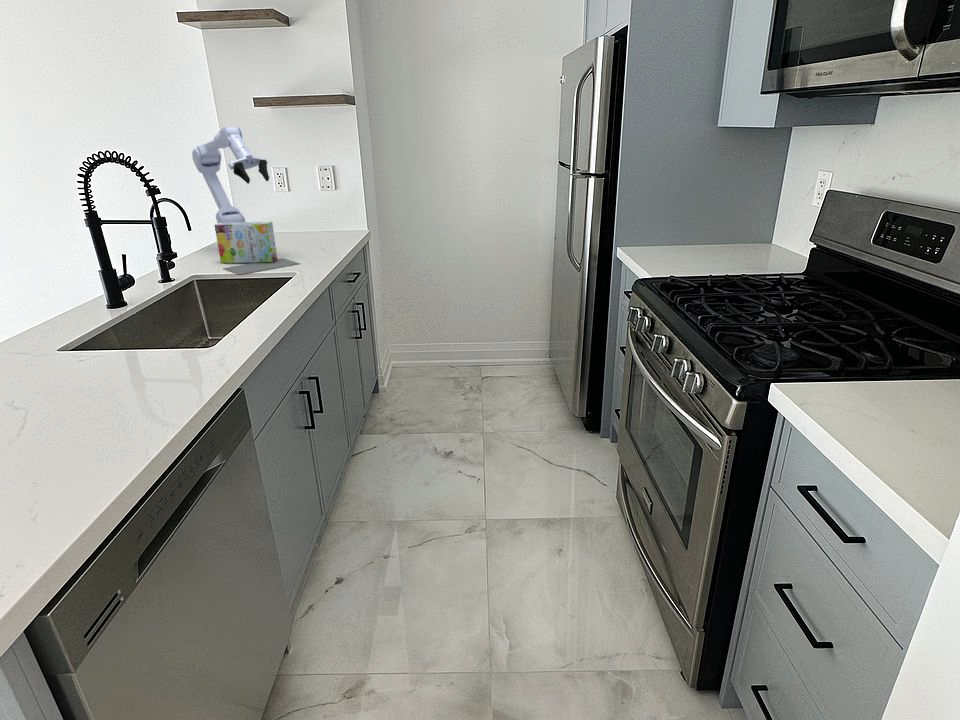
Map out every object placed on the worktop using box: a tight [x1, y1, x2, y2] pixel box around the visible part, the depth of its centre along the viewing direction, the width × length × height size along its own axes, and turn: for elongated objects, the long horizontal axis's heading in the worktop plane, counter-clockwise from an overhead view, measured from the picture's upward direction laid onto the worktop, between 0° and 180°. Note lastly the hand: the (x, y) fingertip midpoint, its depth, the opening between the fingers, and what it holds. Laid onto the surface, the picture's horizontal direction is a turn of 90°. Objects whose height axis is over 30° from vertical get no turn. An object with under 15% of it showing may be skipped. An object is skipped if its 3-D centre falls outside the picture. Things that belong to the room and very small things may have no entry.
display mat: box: [222, 257, 301, 276], centre depth 235 cm, size 14×24×1 cm, turn 134°
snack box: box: [214, 221, 278, 264], centre depth 239 cm, size 21×6×15 cm, turn 84°
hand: (258, 180), depth 232 cm, fingers open, 7 cm apart
